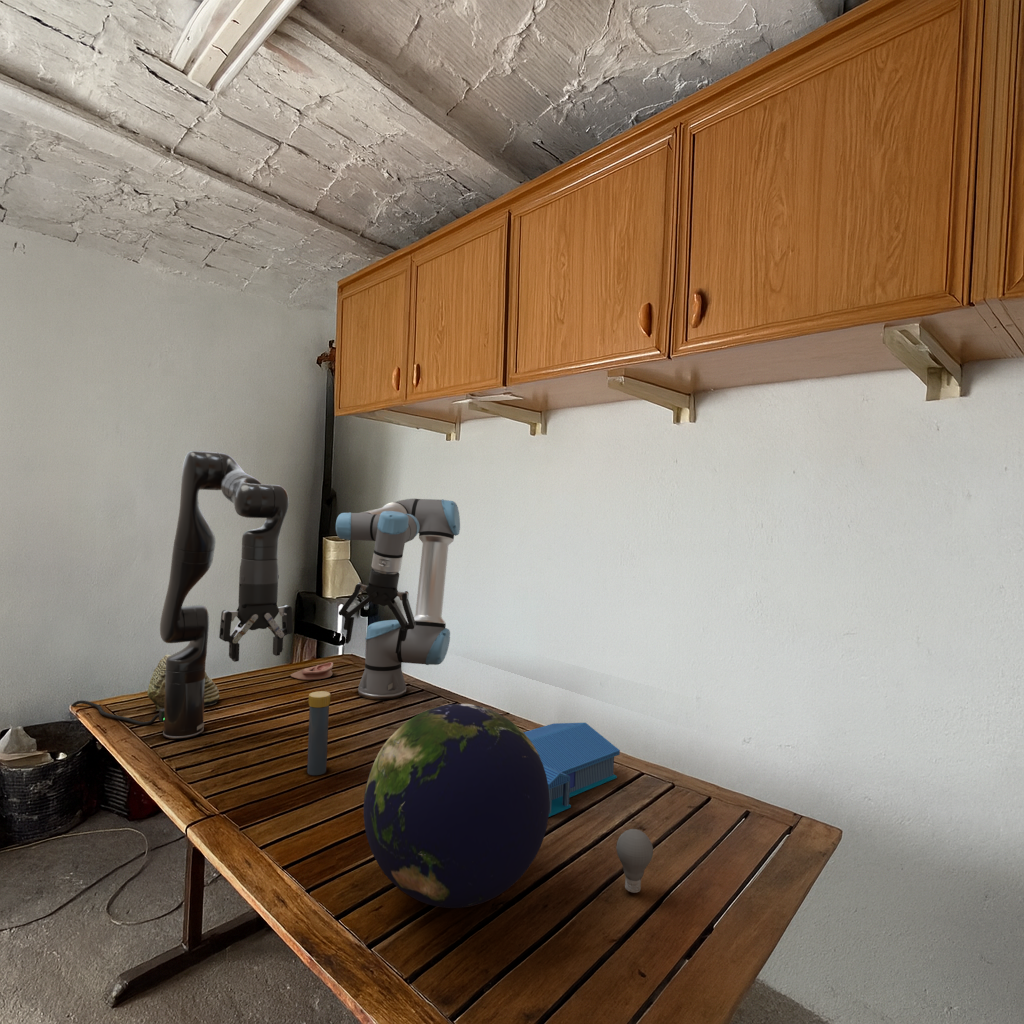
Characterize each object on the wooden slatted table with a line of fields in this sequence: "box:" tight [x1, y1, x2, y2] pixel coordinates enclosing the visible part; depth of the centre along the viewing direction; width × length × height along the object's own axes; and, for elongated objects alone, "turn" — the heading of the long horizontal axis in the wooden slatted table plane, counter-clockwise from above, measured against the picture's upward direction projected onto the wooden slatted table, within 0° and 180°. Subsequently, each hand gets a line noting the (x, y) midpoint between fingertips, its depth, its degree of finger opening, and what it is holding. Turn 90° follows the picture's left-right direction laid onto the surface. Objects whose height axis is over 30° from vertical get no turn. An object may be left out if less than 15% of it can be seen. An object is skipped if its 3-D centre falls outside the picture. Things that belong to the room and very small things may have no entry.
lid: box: [307, 690, 332, 708], centre depth 145 cm, size 5×5×2 cm
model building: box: [523, 722, 621, 818], centre depth 143 cm, size 39×24×10 cm, turn 132°
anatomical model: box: [290, 661, 334, 681], centre depth 221 cm, size 13×4×12 cm
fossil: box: [147, 654, 221, 711], centre depth 185 cm, size 9×18×15 cm, turn 132°
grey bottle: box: [306, 705, 330, 776], centre depth 146 cm, size 4×4×18 cm
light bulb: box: [615, 828, 654, 894], centre depth 106 cm, size 6×6×10 cm
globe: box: [363, 703, 549, 909], centre depth 103 cm, size 30×30×30 cm
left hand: (256, 657), depth 132 cm, fingers open, 8 cm apart
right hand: (372, 646), depth 169 cm, fingers open, 13 cm apart
